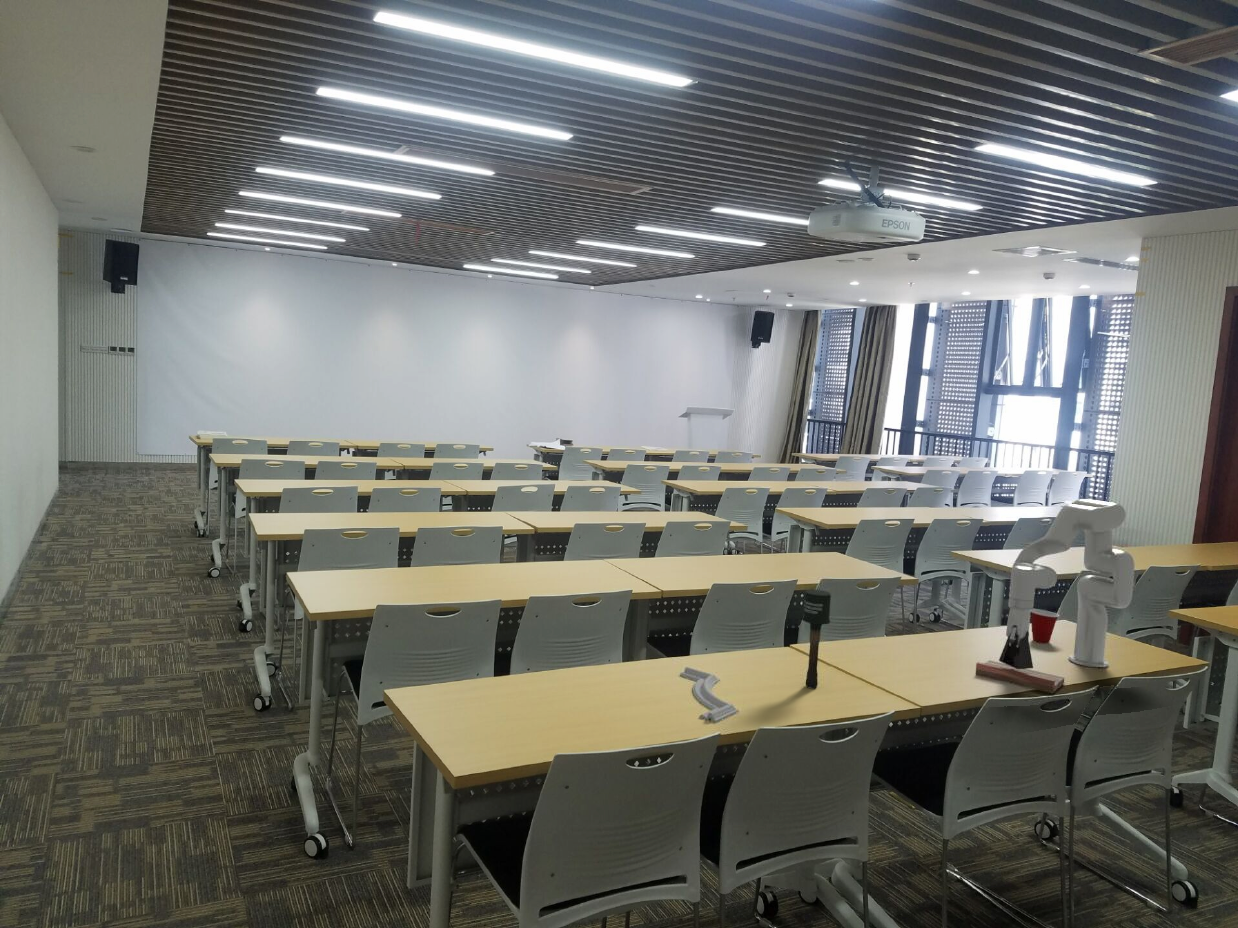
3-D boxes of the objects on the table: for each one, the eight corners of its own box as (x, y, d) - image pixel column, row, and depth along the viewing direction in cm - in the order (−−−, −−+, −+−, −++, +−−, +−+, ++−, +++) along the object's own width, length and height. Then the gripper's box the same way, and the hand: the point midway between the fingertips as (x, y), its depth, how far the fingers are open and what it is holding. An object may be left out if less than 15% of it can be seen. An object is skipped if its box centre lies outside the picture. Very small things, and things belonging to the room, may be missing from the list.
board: (988, 665, 302) (989, 654, 301) (1063, 683, 286) (1065, 671, 286) (975, 674, 291) (976, 662, 291) (1052, 693, 275) (1053, 680, 275)
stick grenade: (792, 683, 272) (798, 589, 270) (815, 681, 275) (822, 588, 273) (807, 692, 264) (813, 596, 262) (830, 690, 267) (837, 595, 265)
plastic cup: (1063, 645, 333) (1066, 615, 332) (1037, 645, 332) (1040, 614, 331) (1045, 637, 344) (1048, 607, 343) (1020, 637, 342) (1023, 607, 341)
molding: (677, 674, 277) (677, 665, 277) (714, 674, 279) (715, 665, 278) (701, 724, 235) (702, 714, 235) (745, 725, 237) (746, 714, 236)
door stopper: (1033, 668, 286) (1036, 633, 285) (1018, 669, 285) (1021, 633, 284) (1013, 660, 295) (1016, 625, 294) (998, 660, 293) (1001, 626, 292)
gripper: (1016, 597, 297) (1012, 648, 299) (1001, 605, 284) (996, 658, 285) (1040, 601, 292) (1035, 653, 294) (1025, 609, 279) (1021, 664, 281)
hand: (1016, 655), depth 289 cm, fingers closed on door stopper, 5 cm apart
